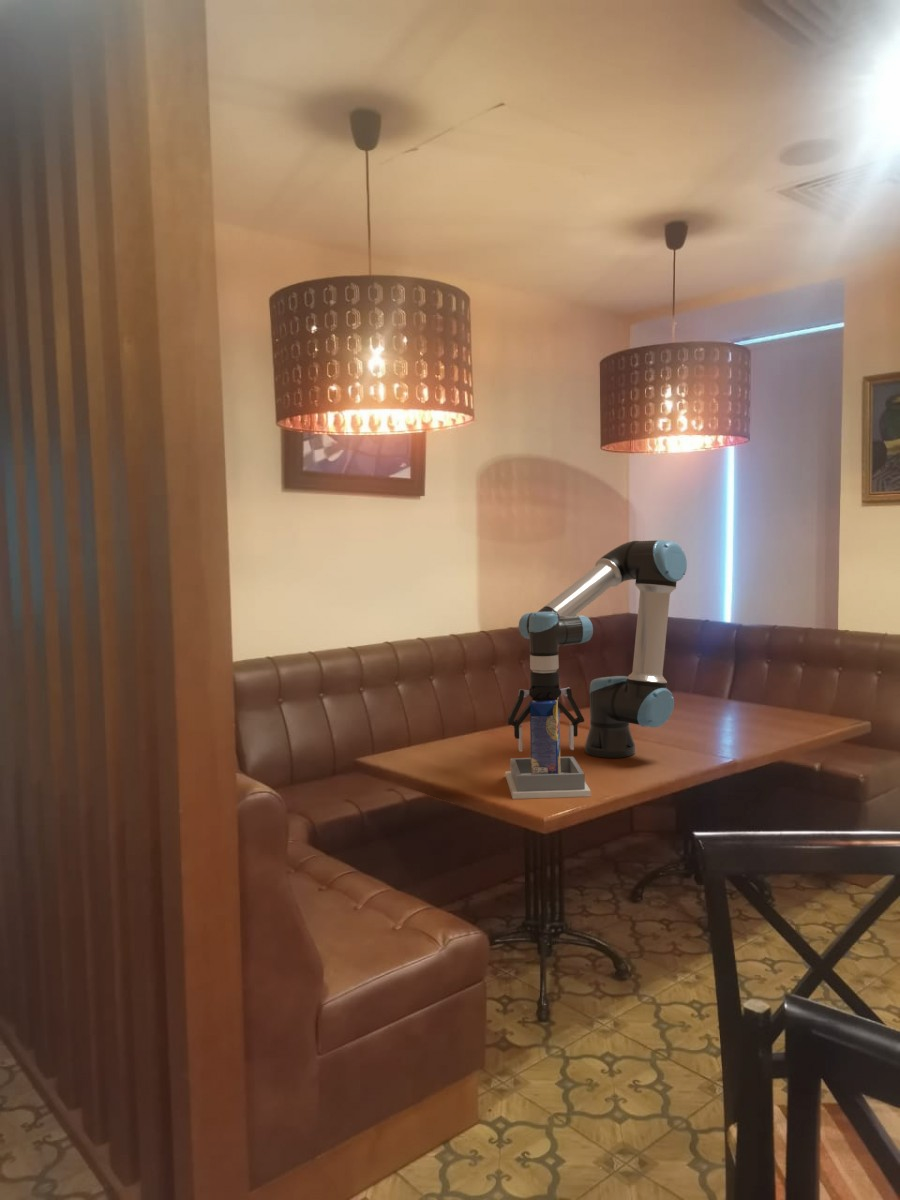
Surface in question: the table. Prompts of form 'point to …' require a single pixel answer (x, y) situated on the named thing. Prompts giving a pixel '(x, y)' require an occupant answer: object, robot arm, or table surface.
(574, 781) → the holder
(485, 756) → the table surface
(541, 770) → the beverage box
